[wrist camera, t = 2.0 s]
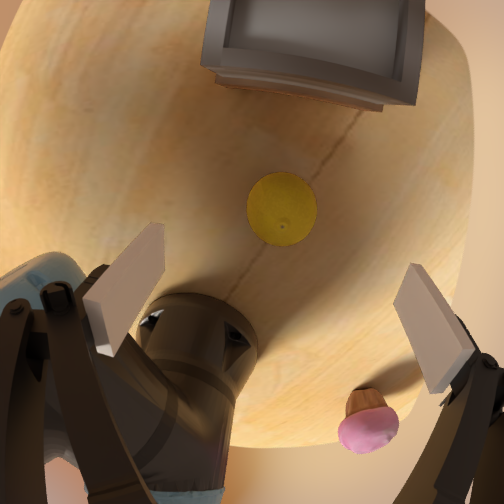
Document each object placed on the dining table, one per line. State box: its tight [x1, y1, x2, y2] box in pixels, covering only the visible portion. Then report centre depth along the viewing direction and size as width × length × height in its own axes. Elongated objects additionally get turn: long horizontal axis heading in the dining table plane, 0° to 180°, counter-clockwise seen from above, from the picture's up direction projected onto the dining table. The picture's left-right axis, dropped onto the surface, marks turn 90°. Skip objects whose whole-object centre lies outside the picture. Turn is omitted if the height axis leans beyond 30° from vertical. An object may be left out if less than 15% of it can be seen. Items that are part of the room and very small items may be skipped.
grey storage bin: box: [200, 0, 425, 112], centre depth 15 cm, size 12×12×12 cm
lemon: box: [246, 172, 317, 246], centre depth 23 cm, size 6×6×8 cm
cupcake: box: [338, 388, 399, 454], centre depth 35 cm, size 9×9×10 cm
